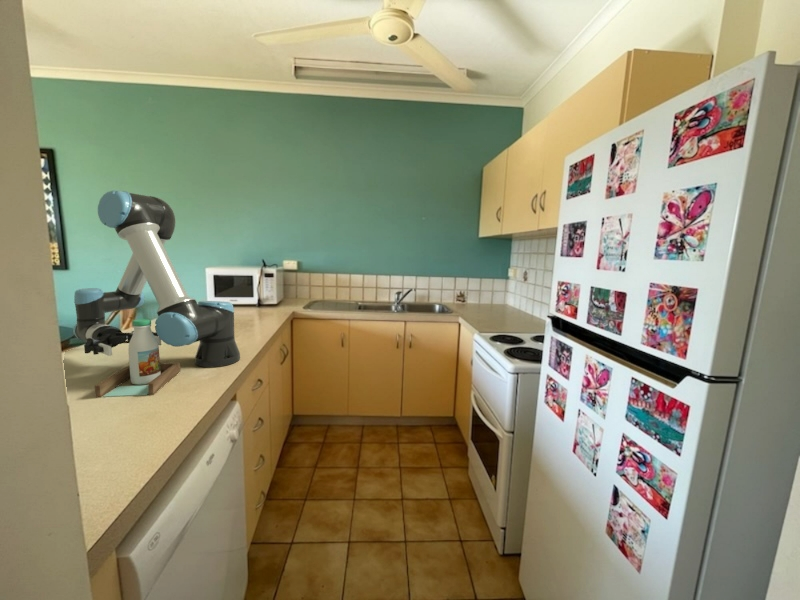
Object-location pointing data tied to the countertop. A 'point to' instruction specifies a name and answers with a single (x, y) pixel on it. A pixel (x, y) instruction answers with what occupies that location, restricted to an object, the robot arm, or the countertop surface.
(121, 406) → the countertop surface
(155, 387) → the bay
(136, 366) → the milk bottle
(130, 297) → the robot arm
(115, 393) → the pad
